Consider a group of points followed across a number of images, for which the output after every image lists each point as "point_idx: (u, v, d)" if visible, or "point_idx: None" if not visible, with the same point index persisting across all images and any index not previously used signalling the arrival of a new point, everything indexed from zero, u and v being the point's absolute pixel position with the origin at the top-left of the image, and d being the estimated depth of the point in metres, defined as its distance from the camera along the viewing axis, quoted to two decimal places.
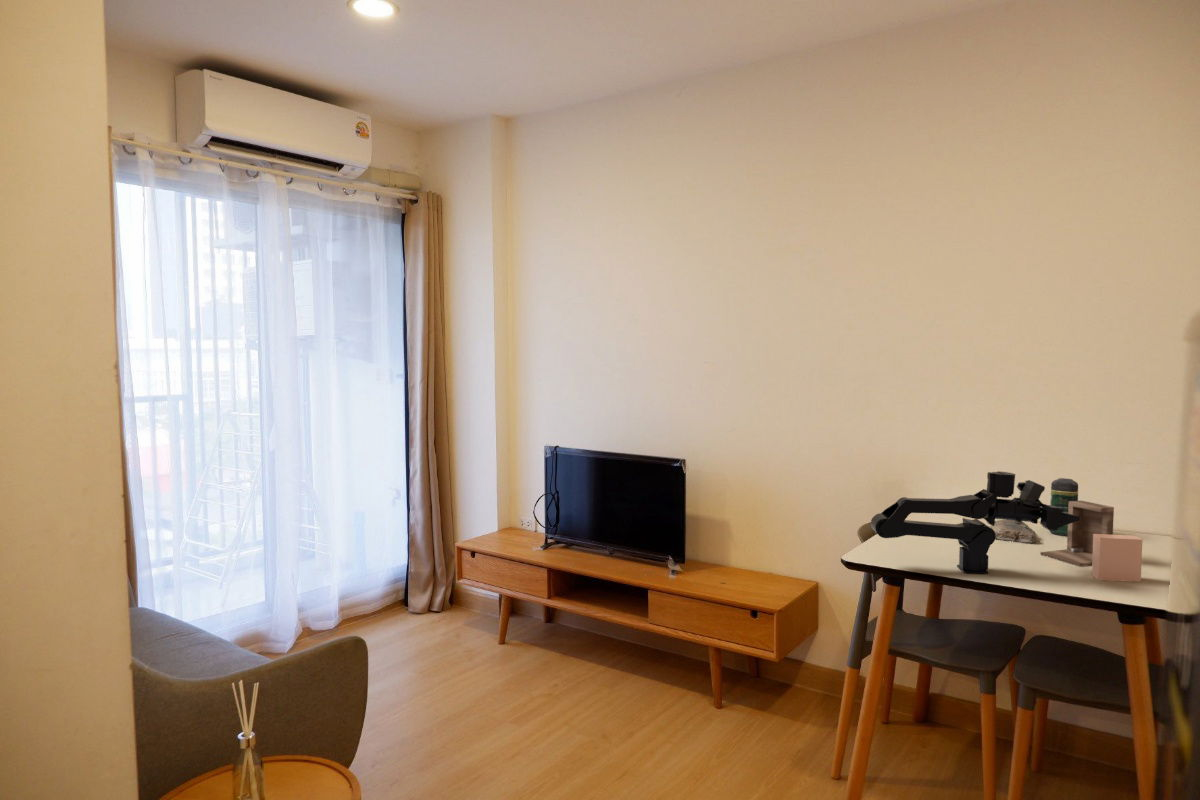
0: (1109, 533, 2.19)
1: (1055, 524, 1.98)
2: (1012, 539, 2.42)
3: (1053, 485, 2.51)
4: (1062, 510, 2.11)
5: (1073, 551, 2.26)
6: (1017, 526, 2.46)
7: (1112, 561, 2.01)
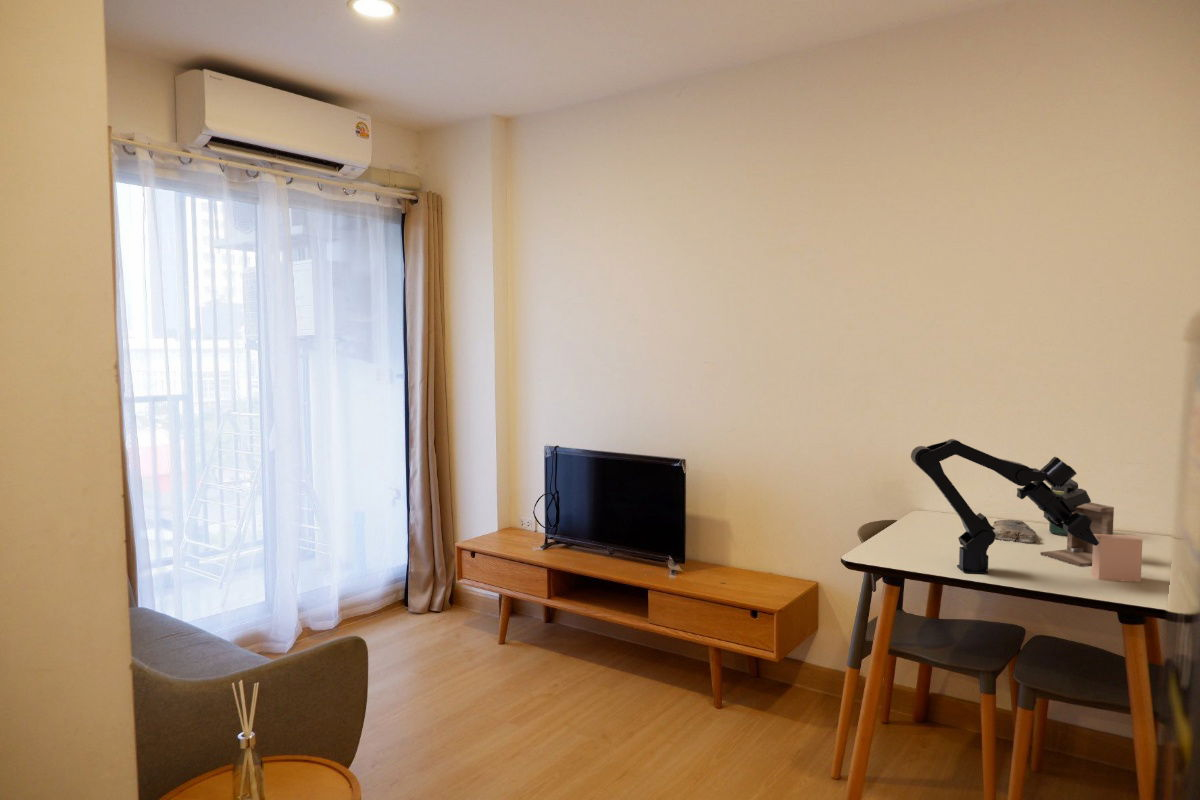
0: (1109, 533, 2.19)
1: (1077, 530, 1.96)
2: (1013, 539, 2.42)
3: None
4: None
5: (1073, 551, 2.26)
6: (1018, 526, 2.46)
7: (1112, 561, 2.01)
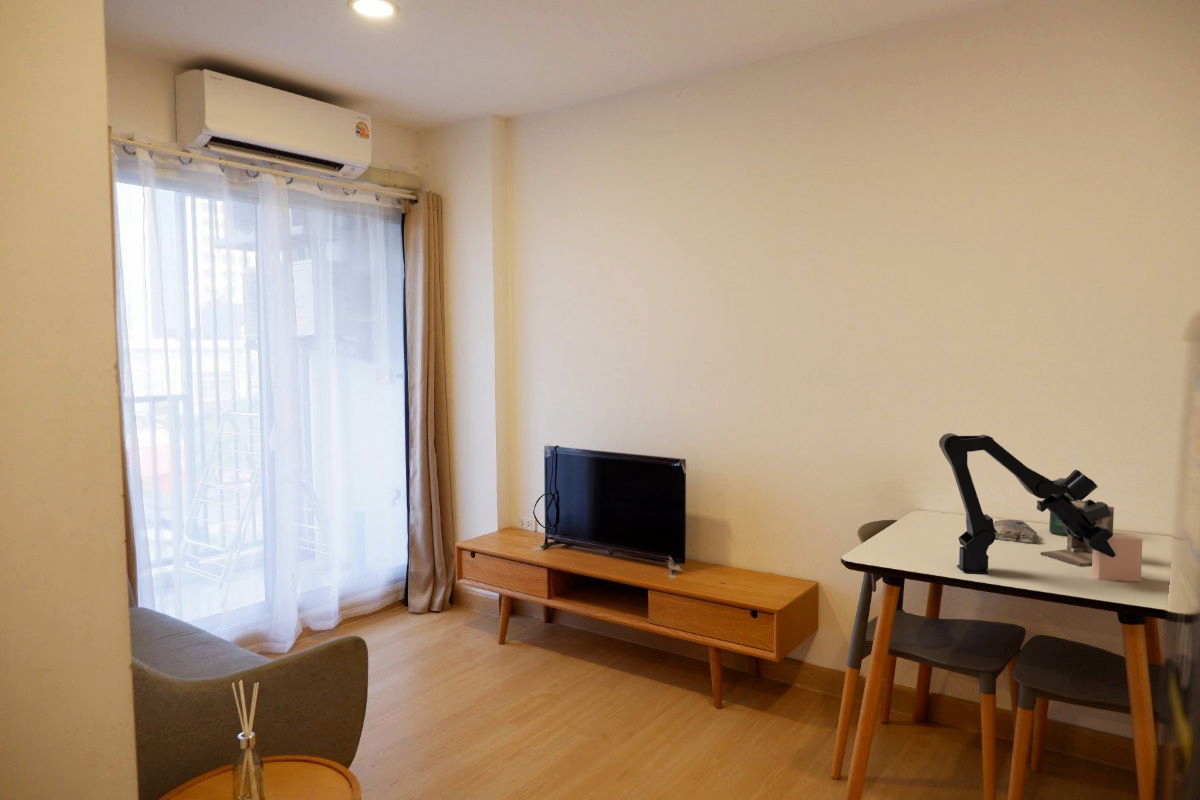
0: None
1: (1098, 544, 1.95)
2: (1013, 539, 2.42)
3: None
4: None
5: (1073, 551, 2.26)
6: (1018, 526, 2.46)
7: (1112, 561, 2.01)
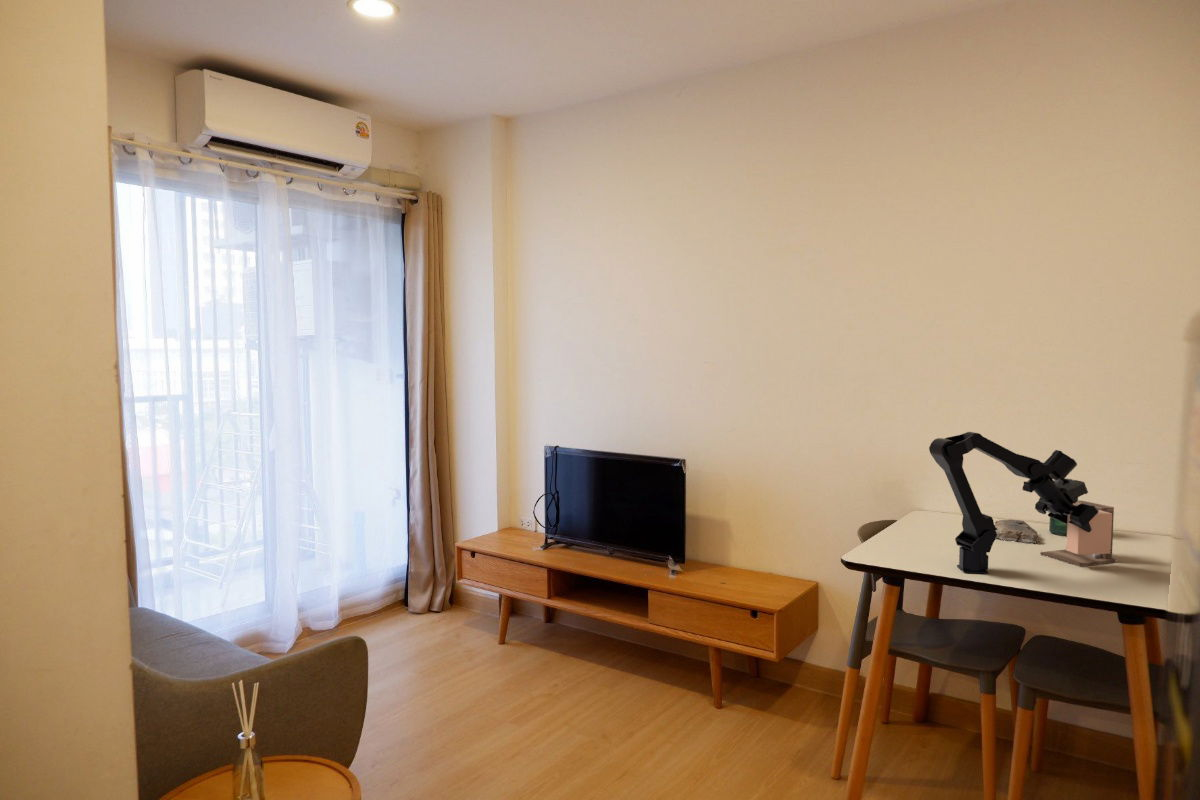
0: None
1: (1087, 520, 2.03)
2: (1014, 539, 2.42)
3: None
4: None
5: None
6: (1019, 526, 2.46)
7: (1088, 536, 2.11)
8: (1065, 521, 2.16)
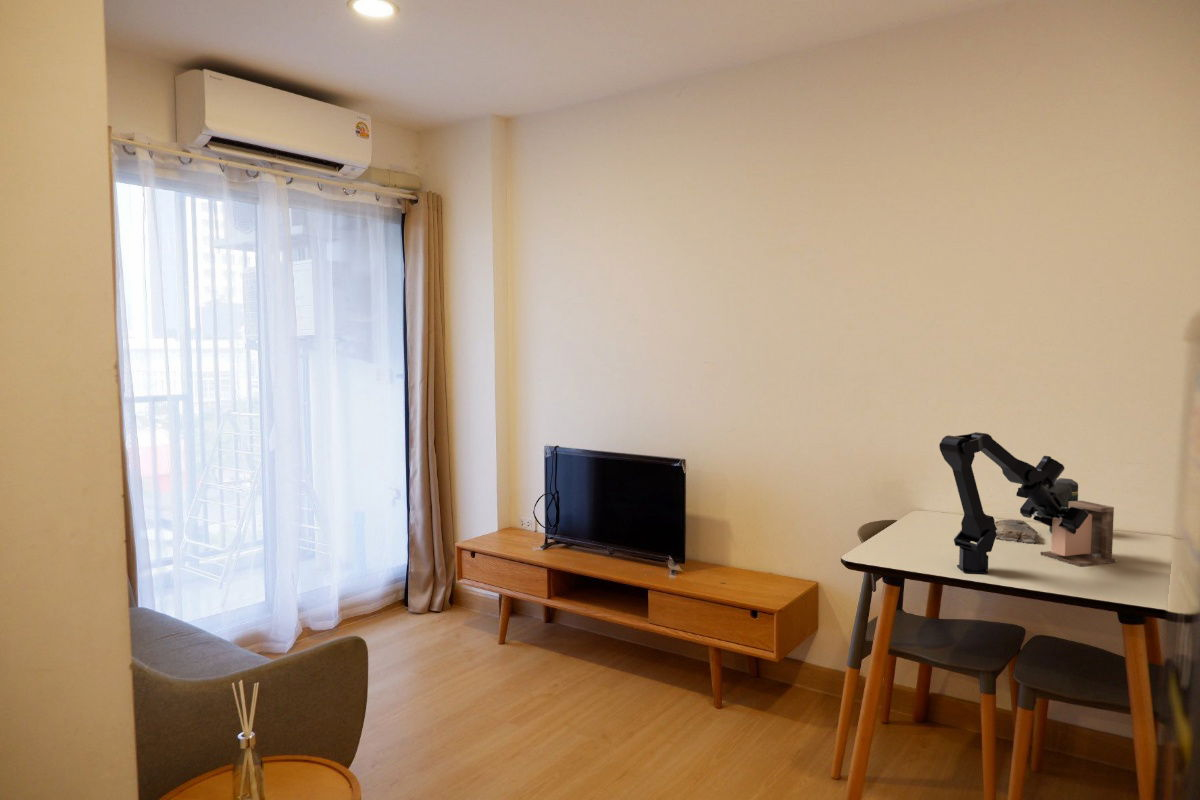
0: (1109, 533, 2.19)
1: (1079, 523, 2.10)
2: (1015, 539, 2.42)
3: None
4: None
5: None
6: (1019, 526, 2.46)
7: (1073, 537, 2.19)
8: (1050, 524, 2.22)
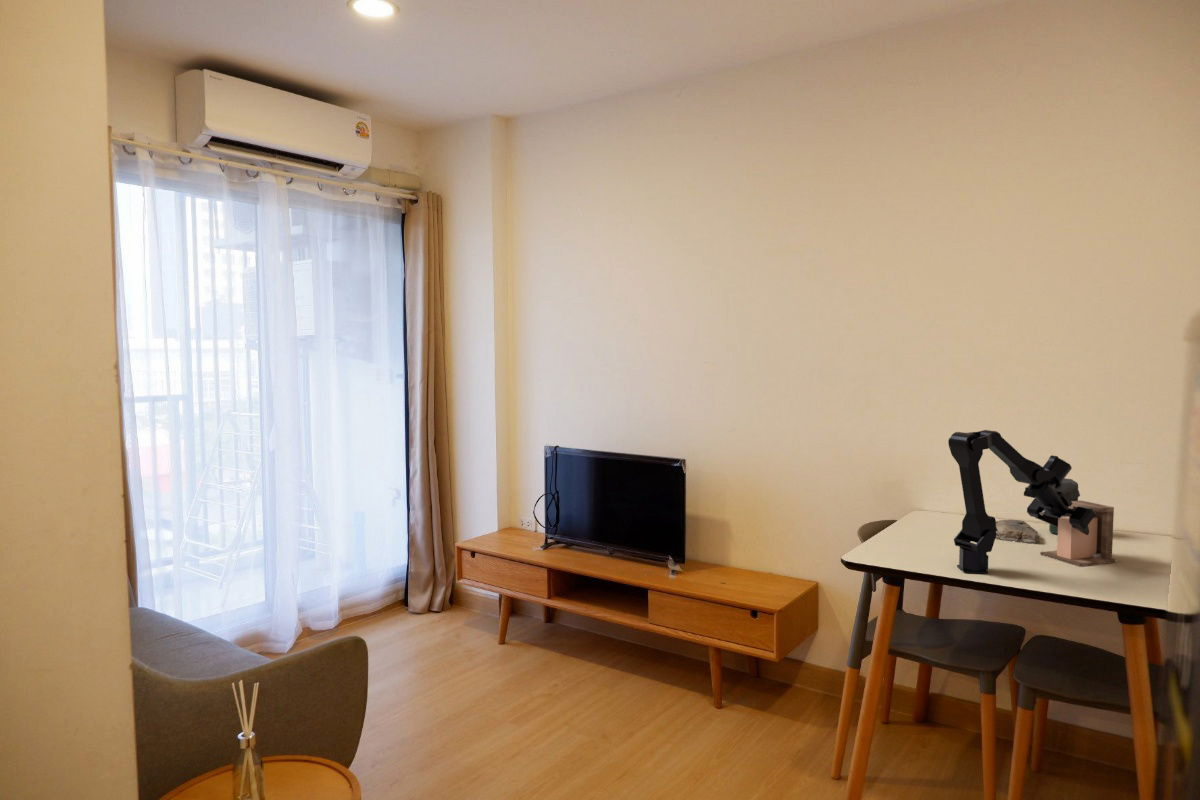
0: (1109, 533, 2.19)
1: (1087, 523, 2.10)
2: (1015, 539, 2.42)
3: None
4: None
5: None
6: (1020, 526, 2.46)
7: (1079, 541, 2.20)
8: (1051, 522, 2.25)
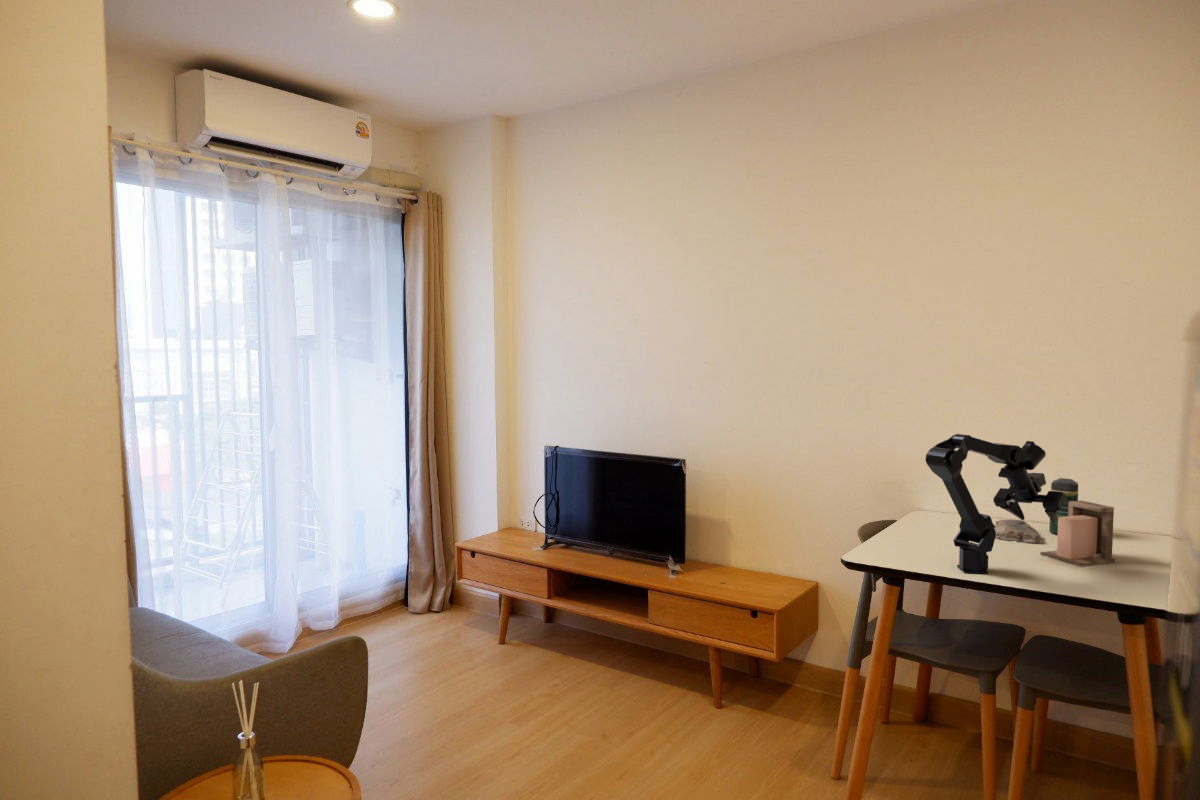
0: (1109, 533, 2.19)
1: (1060, 505, 2.10)
2: (1016, 539, 2.42)
3: (1053, 485, 2.51)
4: (1024, 518, 2.25)
5: None
6: (1020, 526, 2.46)
7: (1079, 541, 2.20)
8: (1016, 512, 2.24)
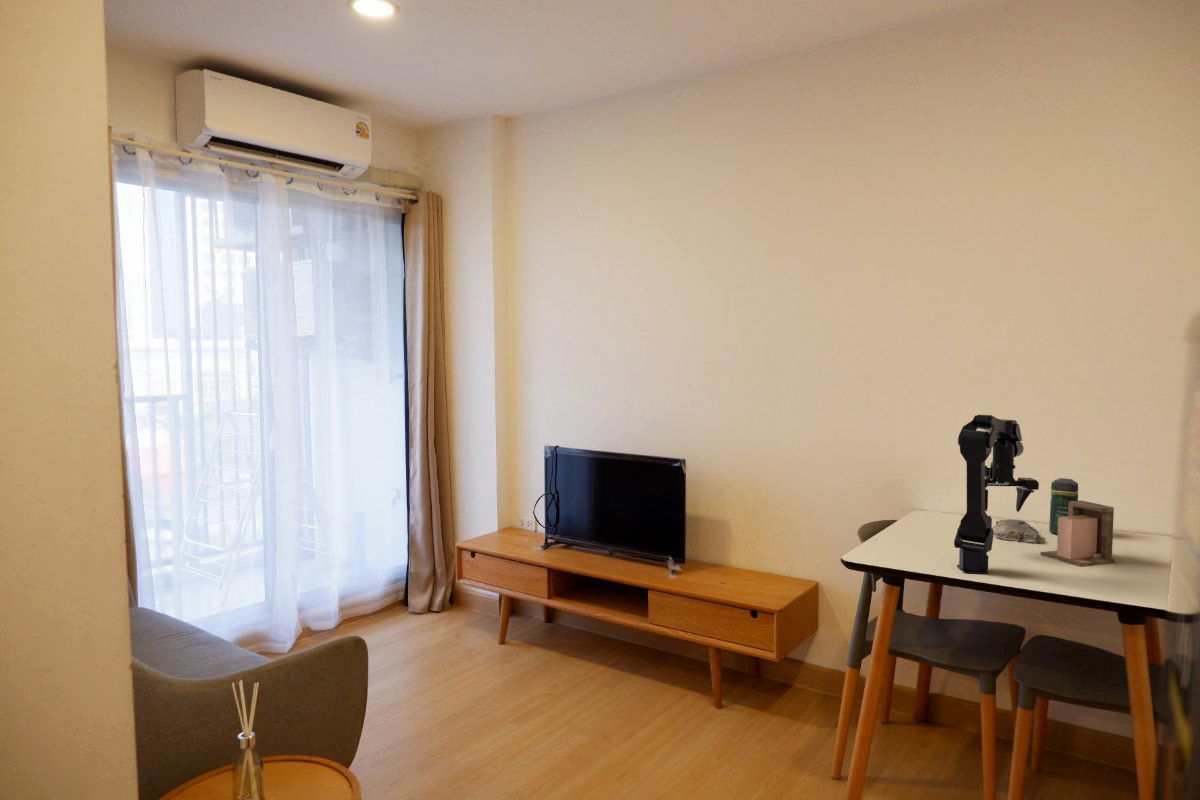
0: (1109, 533, 2.19)
1: None
2: (1017, 539, 2.42)
3: (1053, 485, 2.51)
4: None
5: None
6: (1021, 526, 2.46)
7: (1079, 541, 2.20)
8: None
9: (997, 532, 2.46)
